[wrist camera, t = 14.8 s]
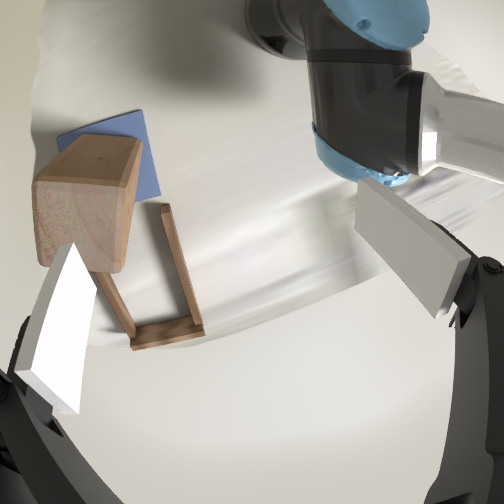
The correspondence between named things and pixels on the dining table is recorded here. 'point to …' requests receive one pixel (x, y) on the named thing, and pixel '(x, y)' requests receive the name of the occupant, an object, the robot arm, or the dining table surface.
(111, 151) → the wooden block
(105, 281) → the frame
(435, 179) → the dining table surface
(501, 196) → the dining table surface
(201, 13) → the dining table surface
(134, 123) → the blue square plate
